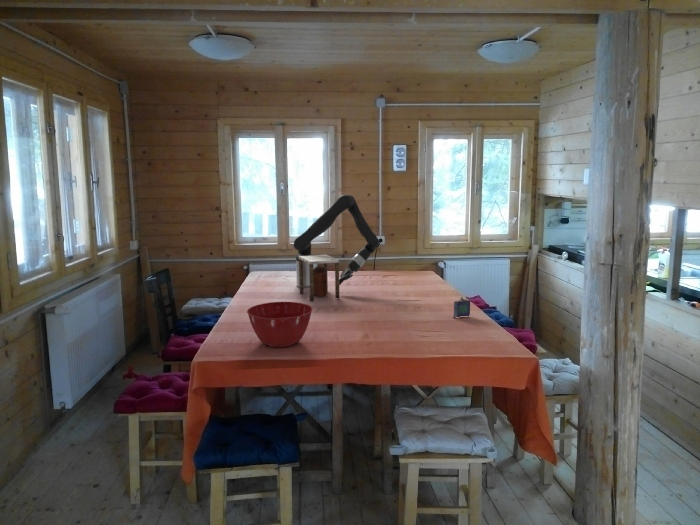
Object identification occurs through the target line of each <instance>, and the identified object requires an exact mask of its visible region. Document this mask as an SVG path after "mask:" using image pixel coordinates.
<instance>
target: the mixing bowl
mask: <svg viewBox="0 0 700 525" xmlns="http://www.w3.org/2000/svg"><path fill="white" fill-rule="evenodd" d="M312 311H313V307H312V306H311V305H310V304H306V303H302V302H295V301H273V302H271V301H270V302H263V303H260V304H256V305H254V306H251V307H249V308H248V309H247V311H246V313H247V315H248V318H249V322H250V325H251V327H252V329H253V331H254V333H255V335H256V336H257V338H258V340H259V341H260V342H261V343H263V344H264V345H266V346H267V345H269V346H268V347H270V346H273V347H272V348H279V347H280V348H288V347H287V346H289V347H291V345H292V346H294V345H295V343H296V344H297V343H299V341H301V340H302V338H303V337H304V335H305V333H306V331H307V329H308V326H309V323H310V319H311V316H312ZM293 344H294V345H293Z"/></svg>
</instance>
